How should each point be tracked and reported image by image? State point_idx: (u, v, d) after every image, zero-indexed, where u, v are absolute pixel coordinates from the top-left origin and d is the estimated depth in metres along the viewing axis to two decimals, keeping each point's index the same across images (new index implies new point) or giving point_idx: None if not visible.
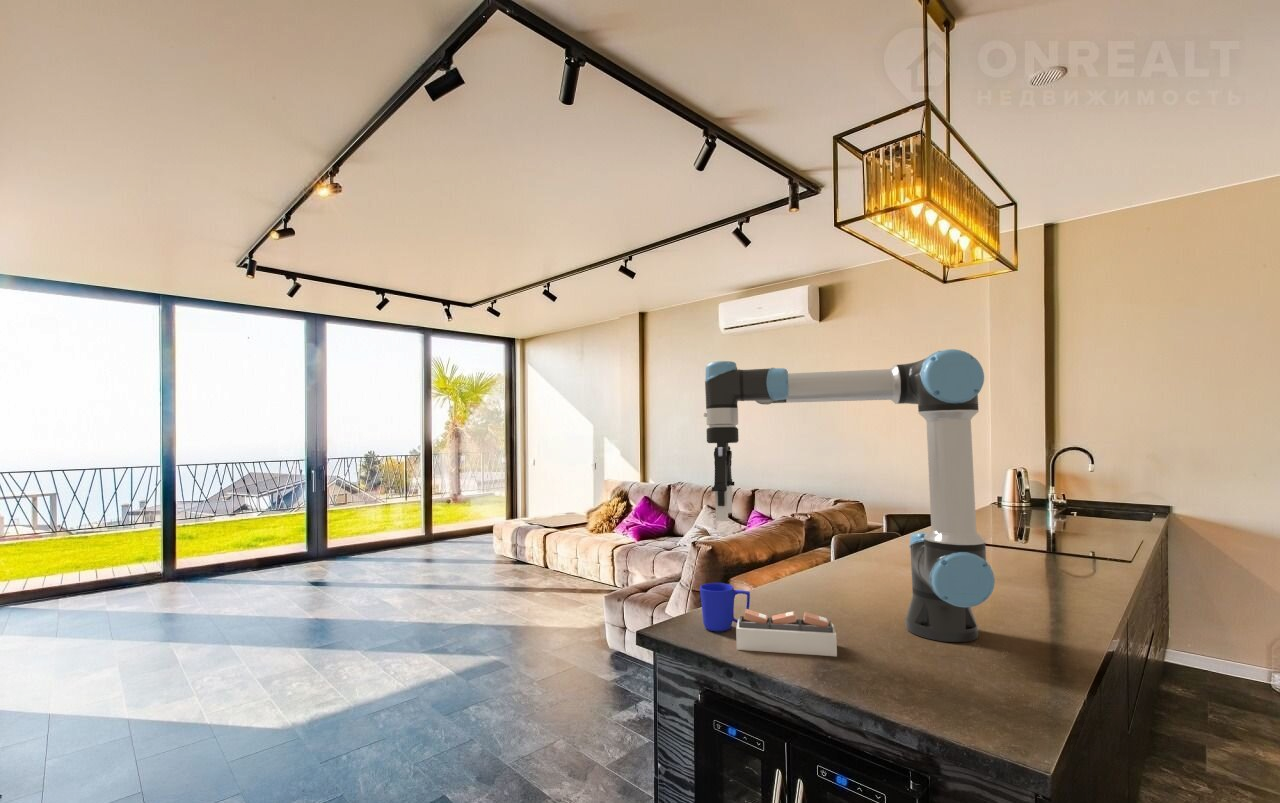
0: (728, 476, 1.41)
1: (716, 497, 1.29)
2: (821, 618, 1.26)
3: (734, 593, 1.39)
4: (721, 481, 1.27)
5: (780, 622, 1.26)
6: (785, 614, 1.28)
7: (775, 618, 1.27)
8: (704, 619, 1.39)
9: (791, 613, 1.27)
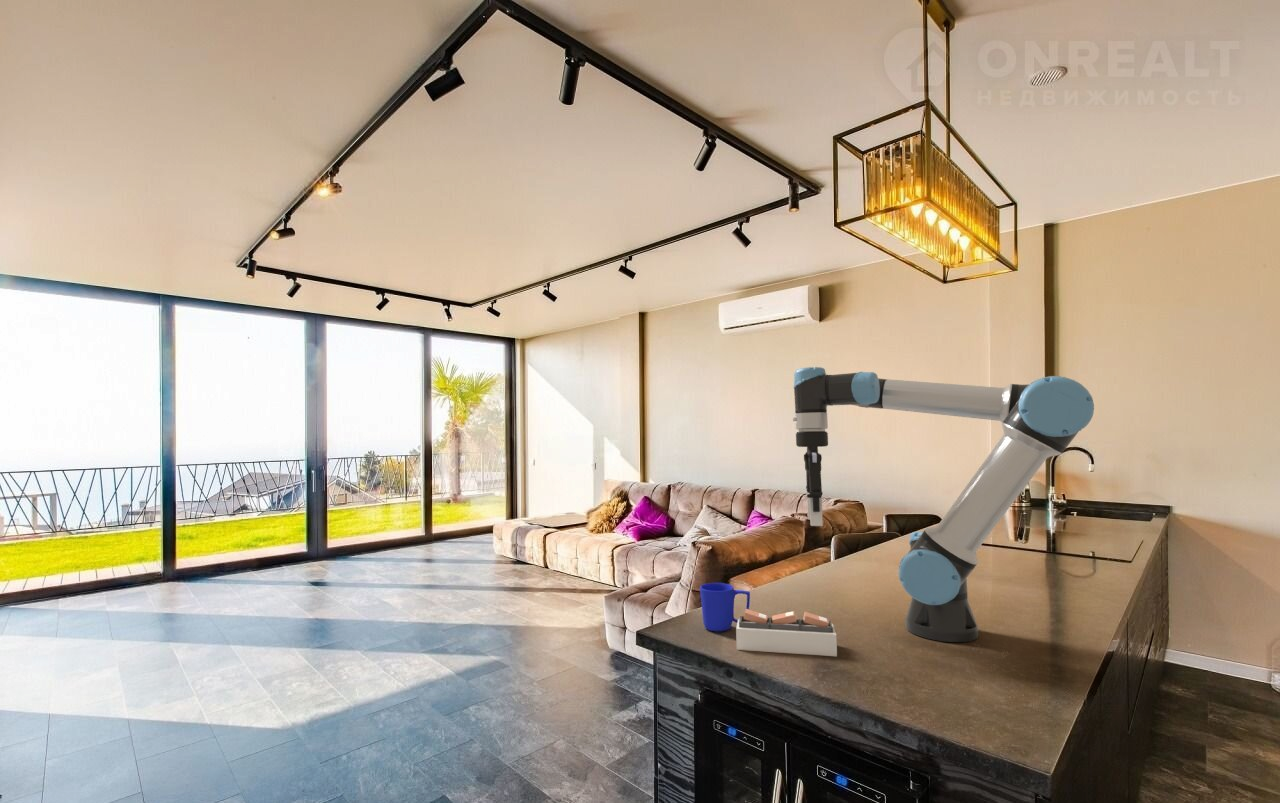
0: None
1: (811, 503, 1.35)
2: (821, 618, 1.26)
3: (734, 593, 1.39)
4: (817, 488, 1.32)
5: (780, 622, 1.26)
6: (785, 614, 1.28)
7: (775, 618, 1.27)
8: (704, 619, 1.39)
9: (791, 613, 1.27)
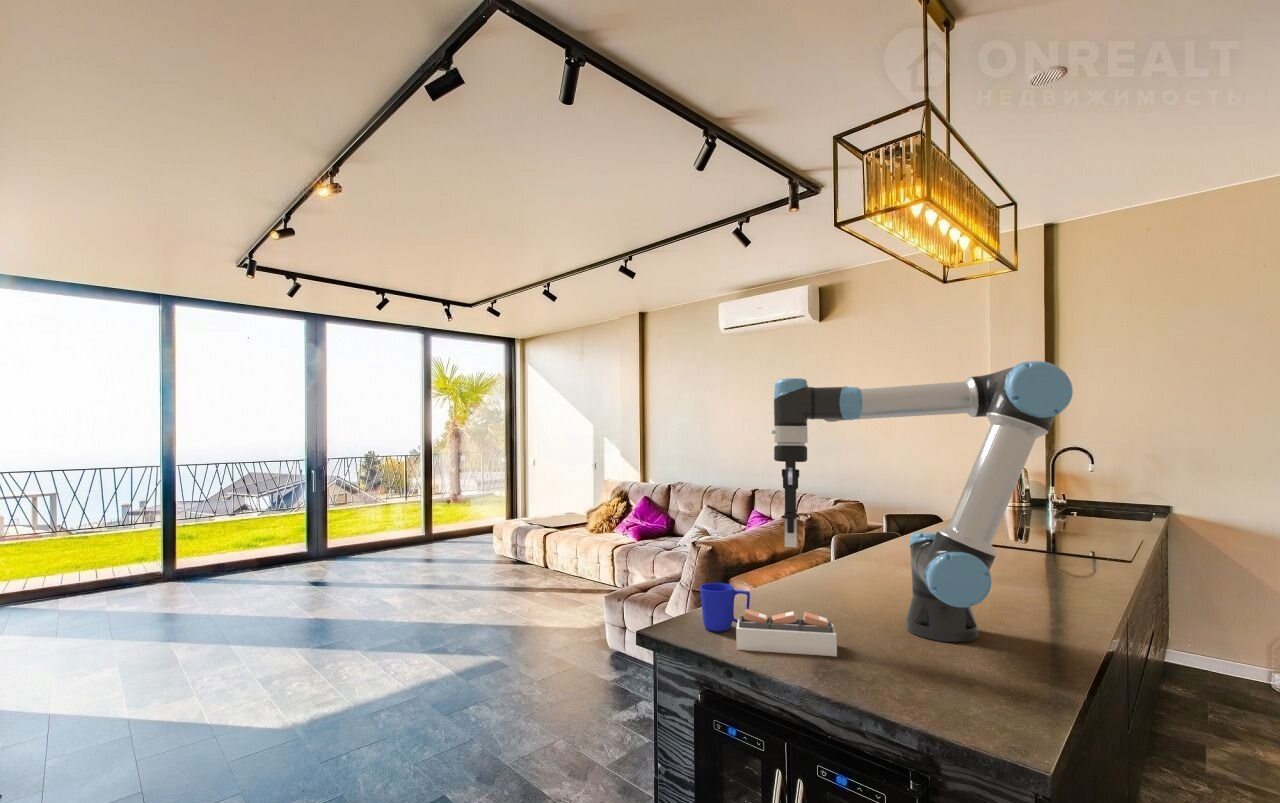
0: None
1: (785, 524, 1.33)
2: (821, 618, 1.26)
3: (734, 593, 1.39)
4: (791, 511, 1.30)
5: (780, 622, 1.26)
6: (785, 614, 1.28)
7: (775, 618, 1.27)
8: (704, 619, 1.39)
9: (791, 613, 1.27)
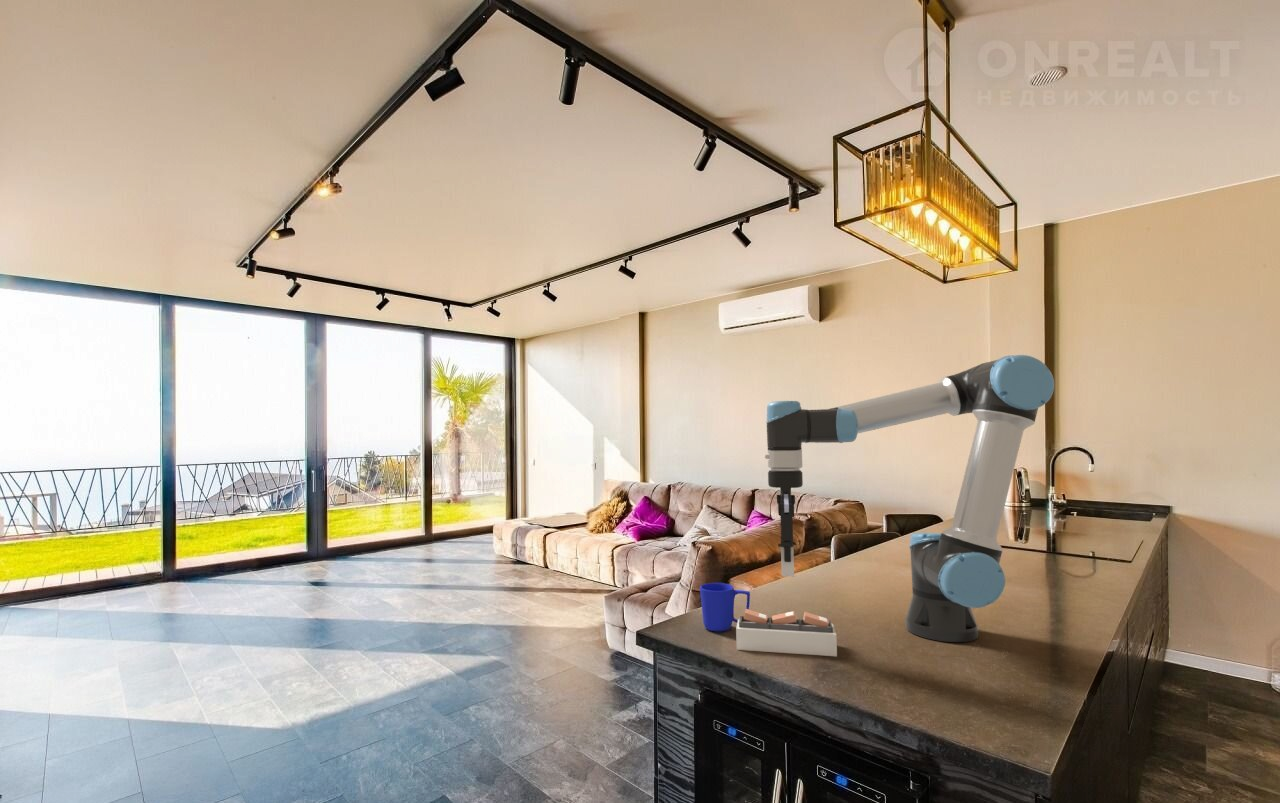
0: None
1: (782, 552, 1.28)
2: (821, 618, 1.26)
3: (734, 593, 1.39)
4: (788, 539, 1.25)
5: (780, 622, 1.26)
6: (785, 614, 1.28)
7: (775, 618, 1.27)
8: (704, 619, 1.39)
9: (791, 613, 1.27)
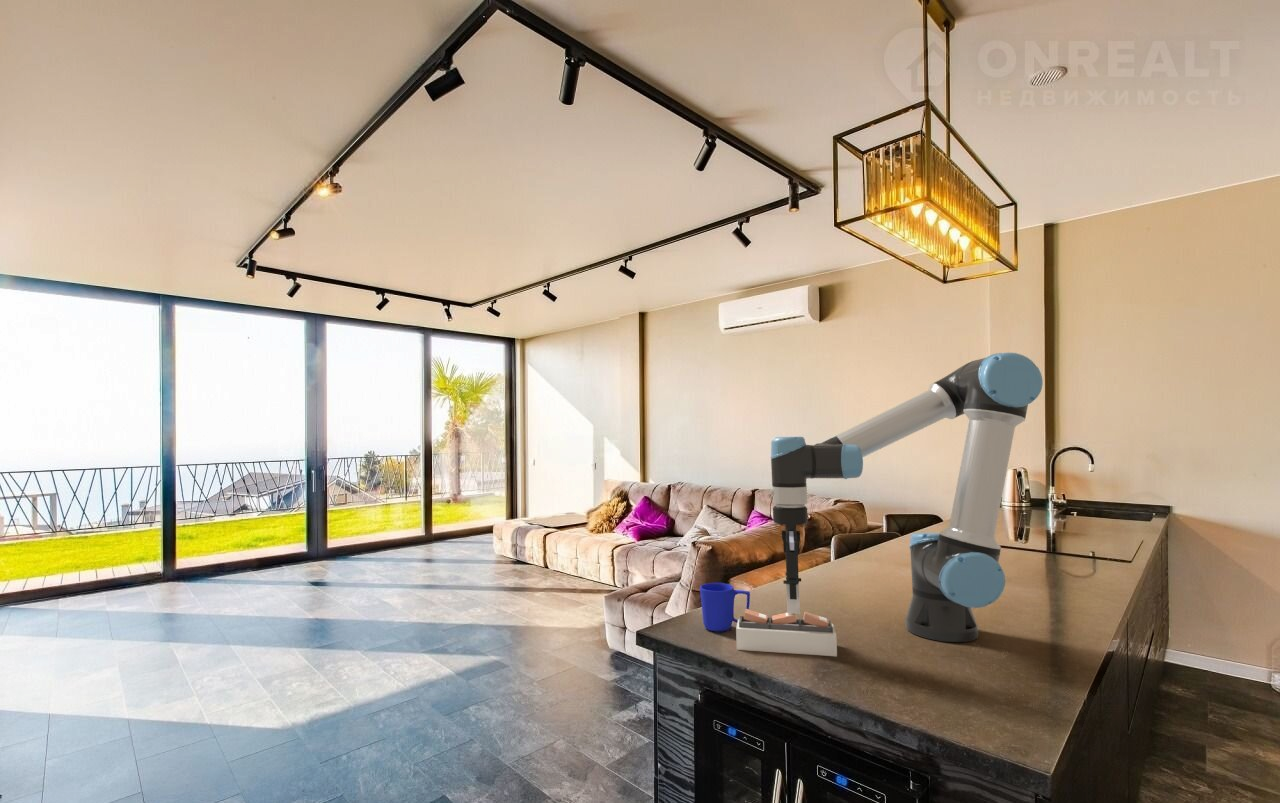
0: None
1: (787, 589, 1.27)
2: (821, 618, 1.26)
3: (734, 593, 1.39)
4: (794, 577, 1.24)
5: (780, 622, 1.26)
6: (785, 614, 1.28)
7: (775, 618, 1.27)
8: (704, 619, 1.39)
9: None
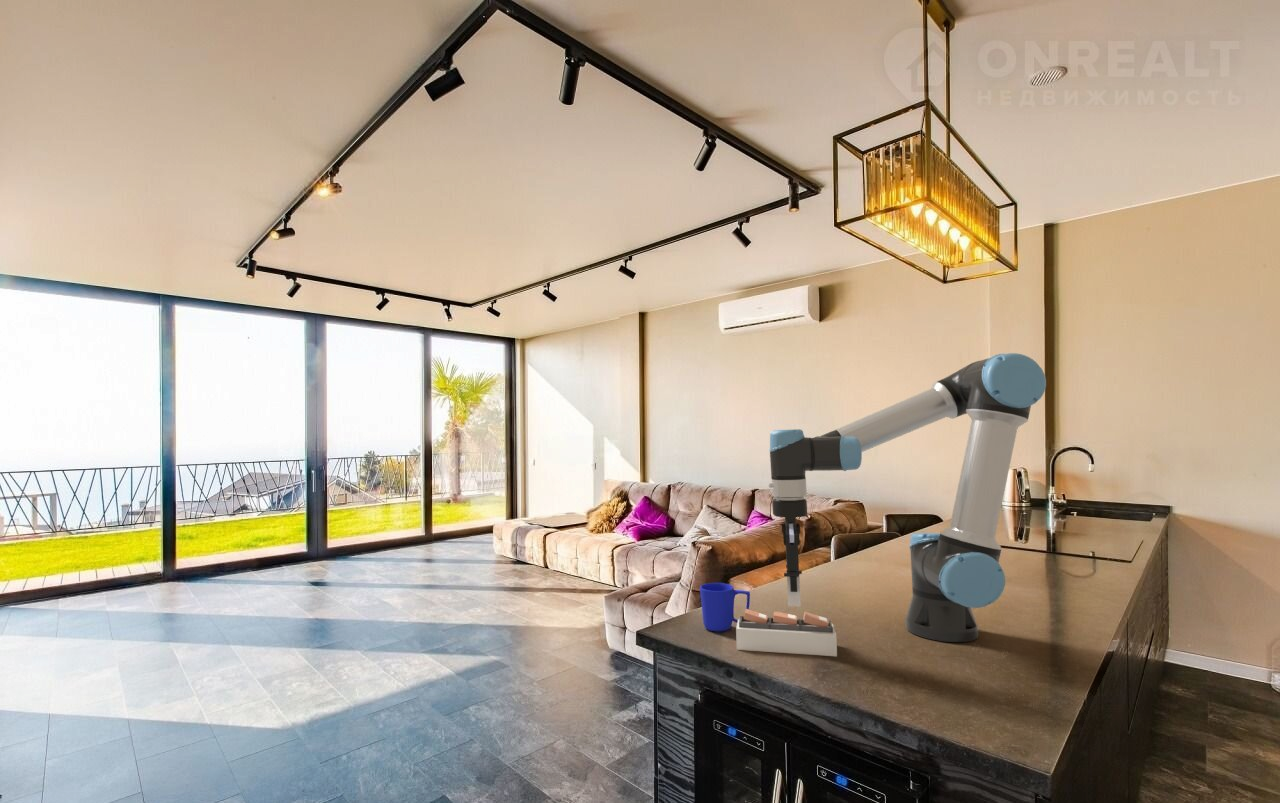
0: None
1: (788, 582, 1.27)
2: (821, 618, 1.26)
3: (734, 593, 1.39)
4: (794, 569, 1.24)
5: (780, 620, 1.26)
6: (787, 615, 1.28)
7: (777, 614, 1.27)
8: (704, 619, 1.39)
9: (794, 616, 1.27)
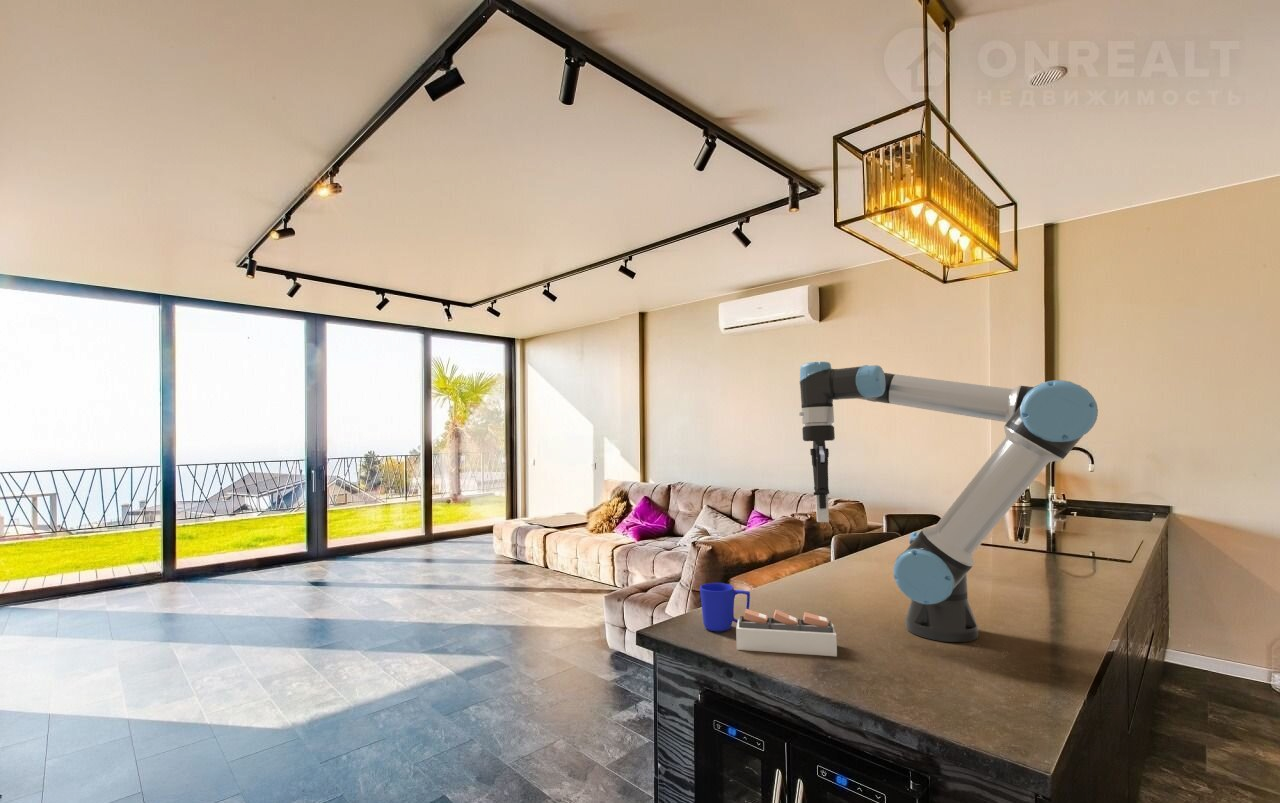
0: None
1: (817, 500, 1.40)
2: (821, 618, 1.26)
3: (734, 593, 1.39)
4: (824, 487, 1.37)
5: (781, 620, 1.26)
6: (789, 616, 1.28)
7: (779, 613, 1.27)
8: (704, 619, 1.39)
9: (795, 619, 1.27)
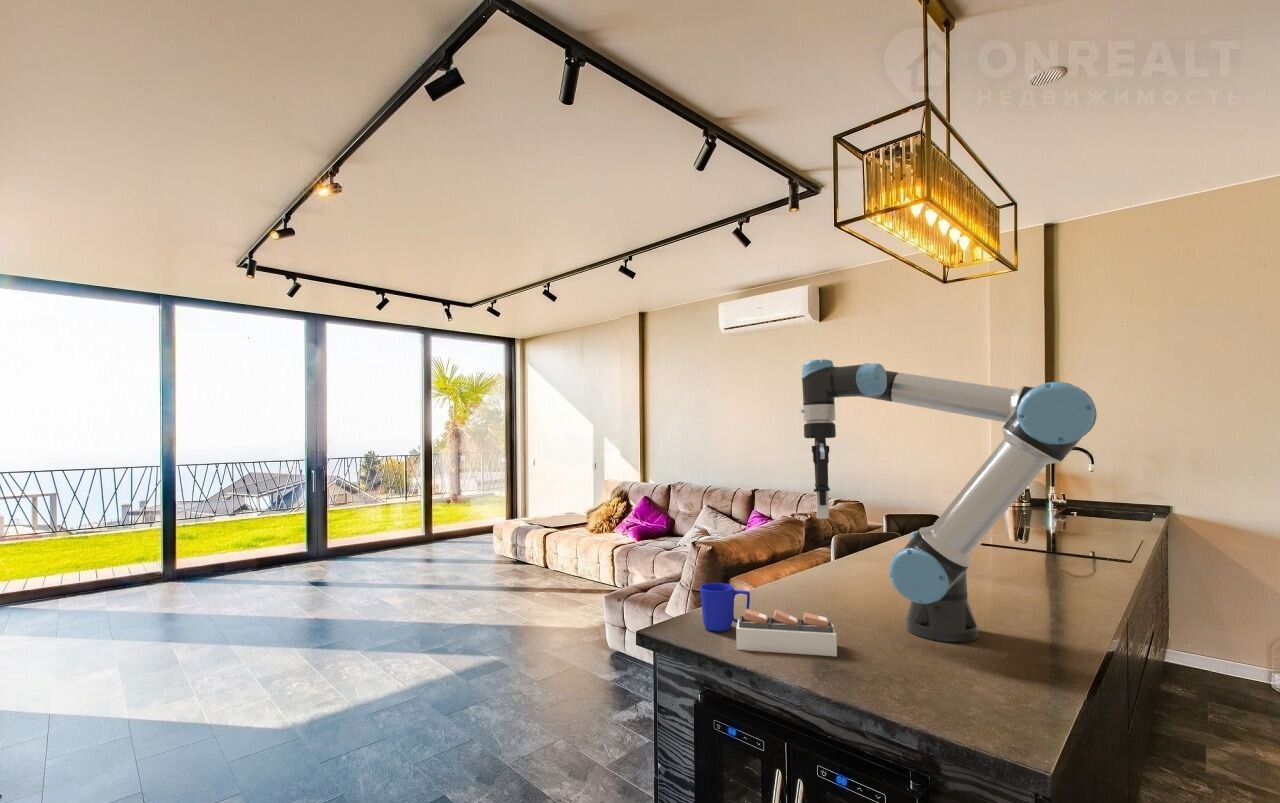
0: None
1: (817, 497, 1.41)
2: (821, 618, 1.26)
3: (734, 593, 1.39)
4: (824, 484, 1.38)
5: (781, 619, 1.26)
6: (789, 616, 1.28)
7: (779, 613, 1.27)
8: (704, 619, 1.39)
9: (795, 619, 1.27)
